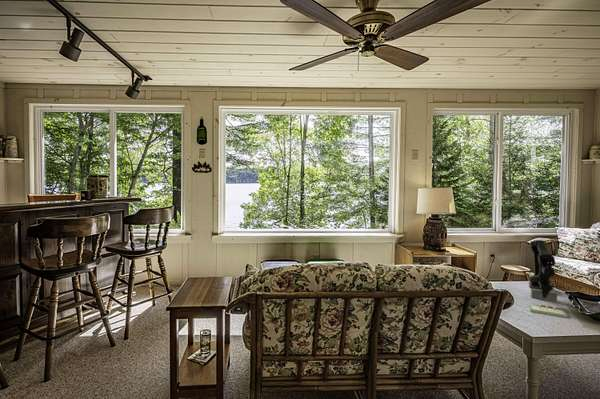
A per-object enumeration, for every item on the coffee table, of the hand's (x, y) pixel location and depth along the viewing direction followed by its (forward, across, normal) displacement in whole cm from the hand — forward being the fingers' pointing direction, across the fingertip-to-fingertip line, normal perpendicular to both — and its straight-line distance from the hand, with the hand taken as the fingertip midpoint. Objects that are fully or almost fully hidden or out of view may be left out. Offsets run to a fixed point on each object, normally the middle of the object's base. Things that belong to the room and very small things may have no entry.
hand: (543, 296), depth 210 cm
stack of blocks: (+6, -44, +4) cm, 44 cm away
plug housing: (+1, 0, 0) cm, 1 cm away
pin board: (+6, +13, 0) cm, 14 cm away
